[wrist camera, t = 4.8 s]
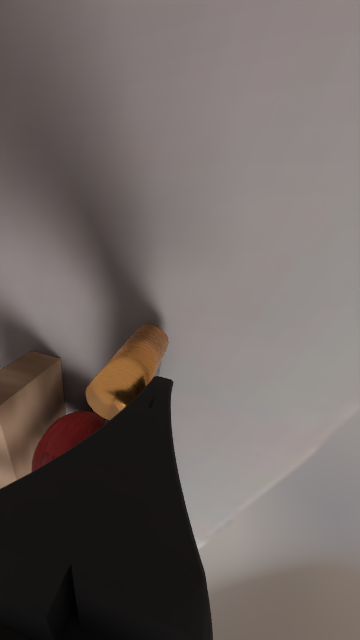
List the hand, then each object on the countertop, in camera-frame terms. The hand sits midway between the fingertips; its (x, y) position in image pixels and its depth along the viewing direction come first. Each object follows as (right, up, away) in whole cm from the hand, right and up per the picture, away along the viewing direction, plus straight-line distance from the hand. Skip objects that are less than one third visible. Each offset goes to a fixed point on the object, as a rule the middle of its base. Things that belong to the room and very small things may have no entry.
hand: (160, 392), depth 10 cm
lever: (-3, -6, +9) cm, 11 cm away
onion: (-7, -6, +11) cm, 15 cm away
